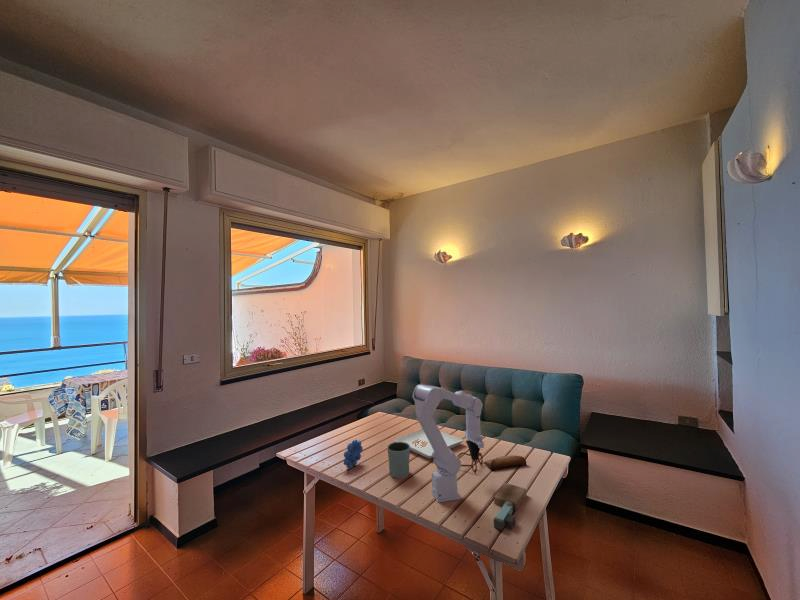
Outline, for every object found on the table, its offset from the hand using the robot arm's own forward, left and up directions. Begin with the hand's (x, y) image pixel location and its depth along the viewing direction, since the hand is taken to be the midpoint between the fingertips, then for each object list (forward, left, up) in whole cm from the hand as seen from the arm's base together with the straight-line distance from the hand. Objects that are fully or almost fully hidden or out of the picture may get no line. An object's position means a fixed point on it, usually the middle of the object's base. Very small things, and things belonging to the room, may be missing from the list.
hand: (474, 459), depth 132 cm
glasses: (+2, +16, -10) cm, 19 cm away
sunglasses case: (+20, +12, -10) cm, 25 cm away
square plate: (-8, +41, -10) cm, 43 cm away
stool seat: (+4, -19, -9) cm, 21 cm away
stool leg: (-1, -24, -9) cm, 26 cm away
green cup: (-29, +15, -10) cm, 34 cm away
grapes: (-49, +28, -10) cm, 57 cm away
